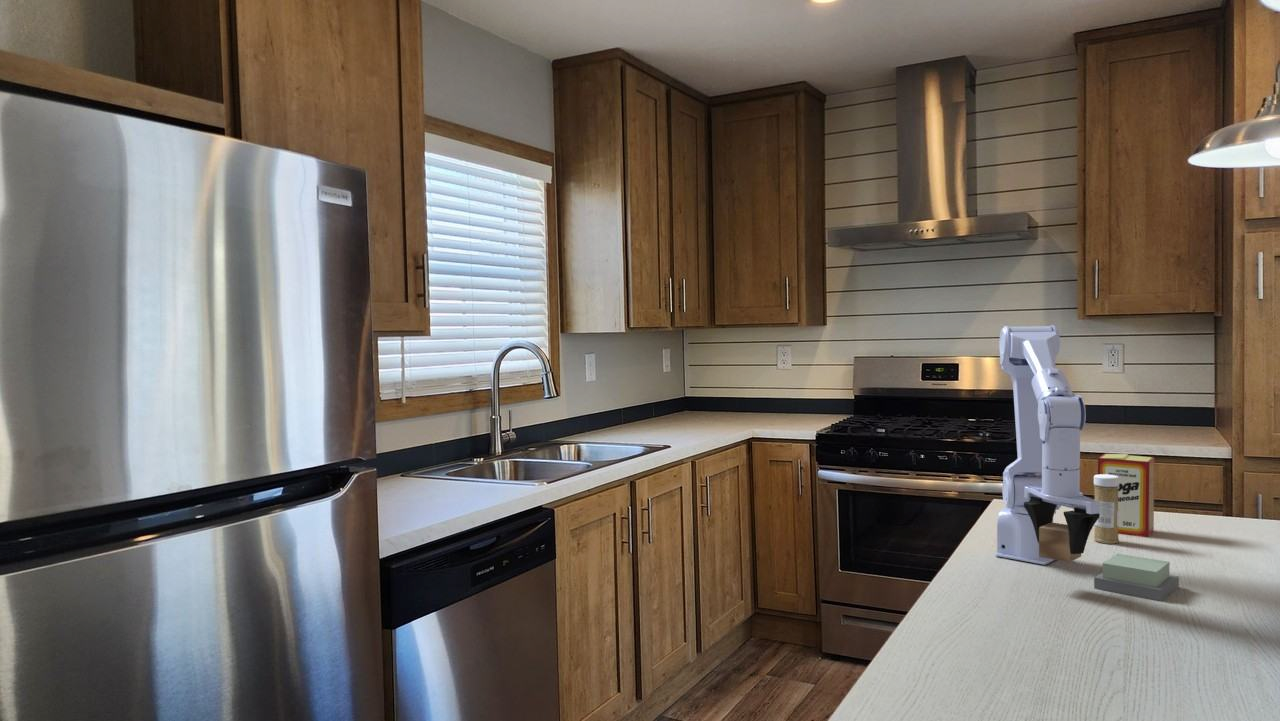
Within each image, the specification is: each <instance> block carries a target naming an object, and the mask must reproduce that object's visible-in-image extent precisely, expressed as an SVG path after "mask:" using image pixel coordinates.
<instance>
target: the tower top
mask: <svg viewBox="0 0 1280 721" xmlns="http://www.w3.org/2000/svg"><path fill="white" fill-rule="evenodd" d="M1170 566H1171V565H1170V561H1167V560H1162V559H1161V560H1160V559H1154V558H1146V557H1141V556H1140V557H1139V556H1135V555H1129V554H1122V553H1116V554H1115V555H1113V556H1112V557H1110V558H1109V559H1107V560H1106V561H1104V562H1103V563H1102V573H1103V578H1106V579H1112V580H1117V581H1123V582H1129V583H1134V584H1140V585H1146V586H1151V587H1157V586H1159V585H1160V584H1161V583H1162V582H1163V581H1165V580H1166V579H1167V578H1168V577H1169V575H1170Z"/></svg>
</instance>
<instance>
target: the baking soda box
mask: <svg viewBox="0 0 1280 721" xmlns="http://www.w3.org/2000/svg"><path fill="white" fill-rule="evenodd" d="M1098 474H1108V475H1115V476H1118V477H1119V486H1118V487H1119V488H1118V512H1119V526H1118V535H1119V534H1120V535H1127V536H1133V537H1134V536H1135V537H1143V538H1149V537H1150V536H1151V535H1152V534H1153V532H1154V526H1155V525H1154V524H1155V523H1154V520H1155V518H1154V517H1155V513H1154V511H1155V457H1153V456H1152V457H1151V456H1141V455H1129V454H1128V453H1104V454H1103V453H1102V455H1100V456H1099V457H1098V458H1097V475H1098Z"/></svg>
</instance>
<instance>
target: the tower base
mask: <svg viewBox="0 0 1280 721" xmlns="http://www.w3.org/2000/svg"><path fill="white" fill-rule="evenodd" d="M1093 578H1094V580H1093V583H1094V584H1093V589H1095V590H1101V591H1106V592H1112V593H1116V594H1121V595H1122V594H1123V595H1125V596H1126V595H1127V596H1131V597H1132V596H1133V597H1138V598H1143V599H1148V600H1152V601H1158V602H1162V601H1163V600H1164V599H1166V598H1168V596H1169V595H1171V594H1172V593H1174V592H1175V591H1176V590H1177V589H1179V583H1180V581H1179V580H1180V579H1179V578H1180V577H1179V576H1177V575H1172V574H1169V577H1168V578H1167V579H1166V580H1165V581H1163V582H1162V583H1161V584H1160V585H1159V586H1157V587H1151V586H1146V585H1140V584H1134V583H1129V582H1123V581H1117V580H1112V579H1106V578H1103V572H1101V573H1100V574H1098V575H1097V576H1094V577H1093Z"/></svg>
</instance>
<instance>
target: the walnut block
mask: <svg viewBox="0 0 1280 721" xmlns="http://www.w3.org/2000/svg"><path fill="white" fill-rule="evenodd" d="M1039 557H1043V558H1048V559H1054V561H1059V562H1060V561H1061V562H1066V563H1071V562H1074V561H1076V560H1077V559H1079V558H1081V557H1082V553H1081V554H1071V552H1070V545H1069V531H1068V526H1067V523H1066V524H1064V523H1059V522H1053V523H1052V522H1051V523H1048V524H1046V525H1044V526H1041V527H1039Z"/></svg>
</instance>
